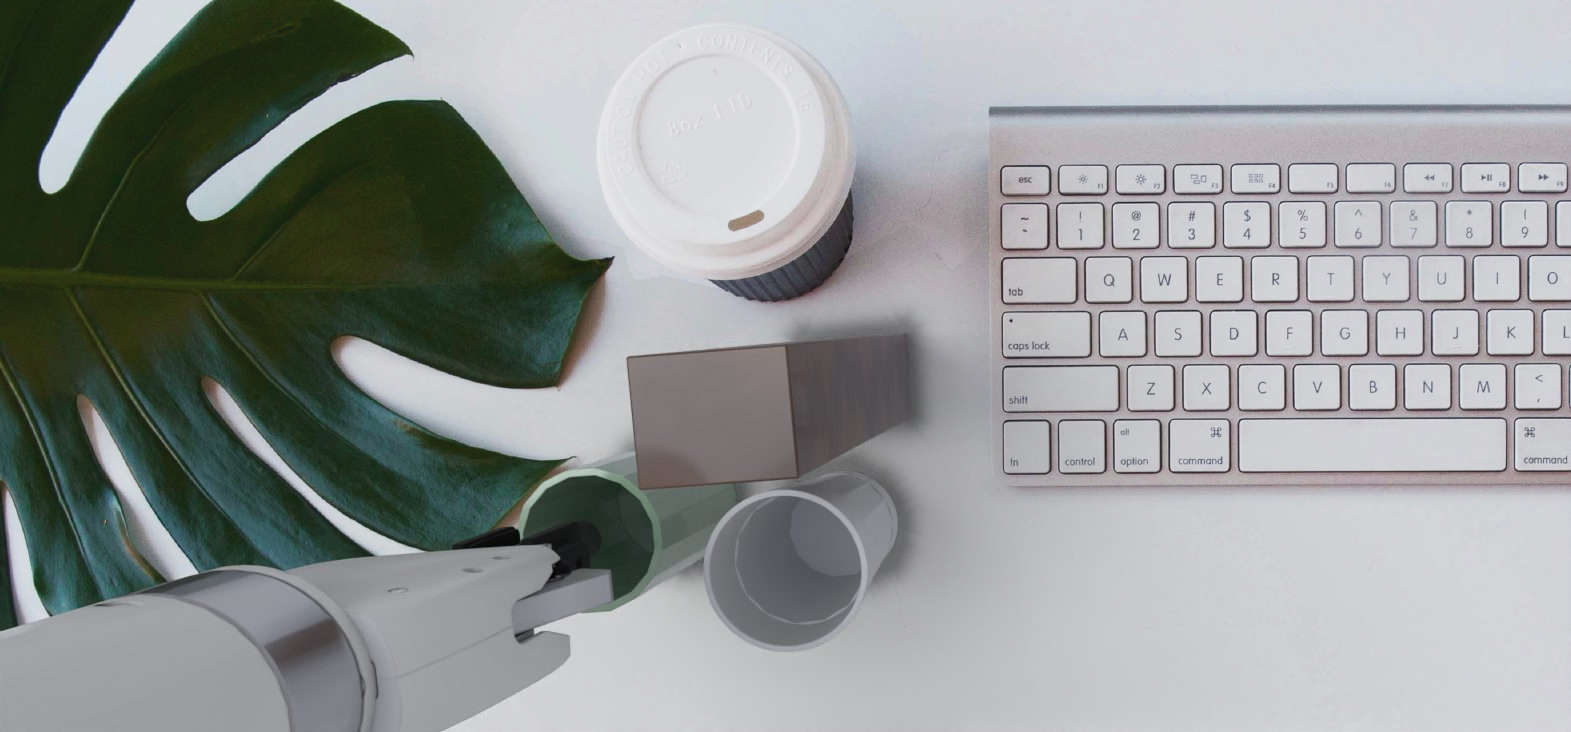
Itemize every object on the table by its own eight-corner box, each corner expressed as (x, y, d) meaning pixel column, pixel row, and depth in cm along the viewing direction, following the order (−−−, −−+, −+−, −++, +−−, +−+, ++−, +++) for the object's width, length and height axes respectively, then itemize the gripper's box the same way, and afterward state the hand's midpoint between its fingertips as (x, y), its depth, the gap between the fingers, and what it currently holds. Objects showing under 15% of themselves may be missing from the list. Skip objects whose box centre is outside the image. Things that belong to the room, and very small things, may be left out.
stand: (913, 416, 64) (799, 478, 40) (812, 424, 64) (638, 491, 40) (906, 332, 63) (786, 344, 39) (805, 340, 64) (624, 356, 40)
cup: (779, 590, 64) (705, 653, 52) (776, 457, 64) (700, 490, 52) (913, 588, 64) (869, 651, 52) (910, 455, 64) (865, 488, 52)
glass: (742, 557, 64) (668, 607, 53) (622, 565, 64) (523, 618, 53) (731, 437, 64) (654, 463, 53) (610, 446, 64) (508, 474, 53)
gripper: (-48, 854, 31) (381, 651, 49) (503, 814, 31) (727, 625, 49) (-83, 597, 30) (363, 489, 49) (475, 555, 30) (712, 462, 49)
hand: (544, 558), depth 49 cm, fingers closed
